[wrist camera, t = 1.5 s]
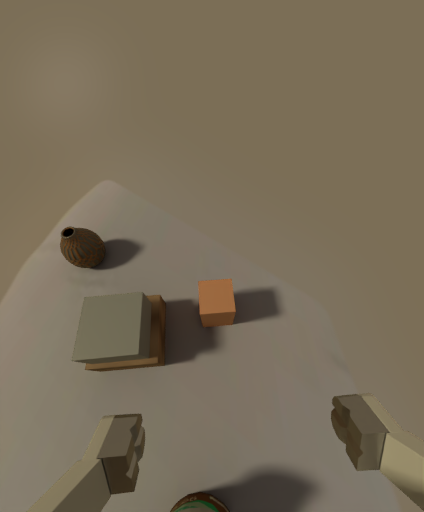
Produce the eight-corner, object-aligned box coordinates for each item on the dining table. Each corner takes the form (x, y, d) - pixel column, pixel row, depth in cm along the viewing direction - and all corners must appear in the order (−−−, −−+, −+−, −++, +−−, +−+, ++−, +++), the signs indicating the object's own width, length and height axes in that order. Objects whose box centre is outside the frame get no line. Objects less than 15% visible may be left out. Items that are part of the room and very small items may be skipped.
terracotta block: (232, 324, 38) (235, 311, 31) (203, 327, 38) (199, 314, 31) (229, 296, 41) (231, 278, 34) (201, 299, 41) (198, 281, 34)
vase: (107, 239, 48) (86, 211, 40) (112, 265, 44) (91, 241, 37) (74, 249, 46) (45, 223, 39) (76, 278, 43) (47, 255, 36)
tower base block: (164, 365, 36) (157, 363, 31) (101, 371, 35) (85, 369, 31) (166, 304, 41) (160, 294, 36) (110, 309, 40) (97, 300, 36)
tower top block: (149, 358, 32) (138, 354, 27) (91, 364, 31) (71, 360, 27) (151, 303, 36) (142, 292, 31) (100, 308, 35) (84, 297, 31)
